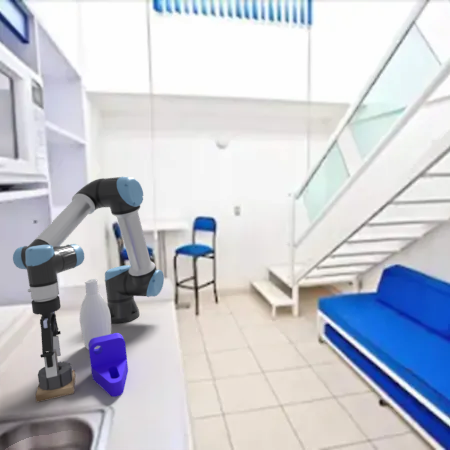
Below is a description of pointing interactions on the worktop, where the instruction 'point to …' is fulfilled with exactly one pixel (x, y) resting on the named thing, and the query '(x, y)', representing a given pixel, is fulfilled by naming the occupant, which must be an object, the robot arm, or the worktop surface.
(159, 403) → the worktop surface
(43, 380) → the dark grey gear
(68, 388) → the peg base board
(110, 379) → the bracket
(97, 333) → the bottle
